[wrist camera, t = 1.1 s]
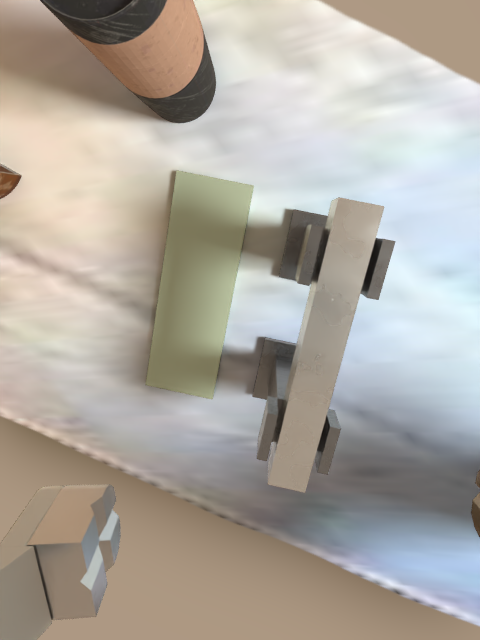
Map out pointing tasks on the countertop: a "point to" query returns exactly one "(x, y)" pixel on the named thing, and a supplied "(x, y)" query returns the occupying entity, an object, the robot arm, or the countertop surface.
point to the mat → (197, 282)
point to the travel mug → (148, 50)
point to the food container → (7, 180)
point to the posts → (280, 353)
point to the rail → (322, 339)
